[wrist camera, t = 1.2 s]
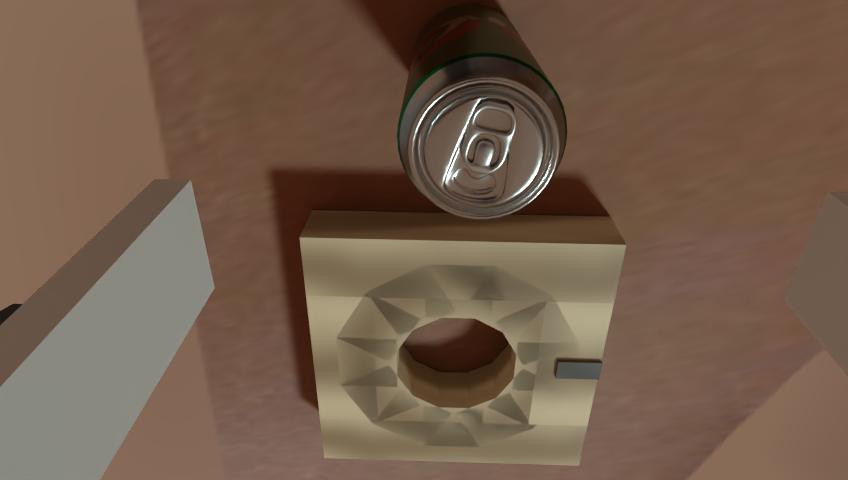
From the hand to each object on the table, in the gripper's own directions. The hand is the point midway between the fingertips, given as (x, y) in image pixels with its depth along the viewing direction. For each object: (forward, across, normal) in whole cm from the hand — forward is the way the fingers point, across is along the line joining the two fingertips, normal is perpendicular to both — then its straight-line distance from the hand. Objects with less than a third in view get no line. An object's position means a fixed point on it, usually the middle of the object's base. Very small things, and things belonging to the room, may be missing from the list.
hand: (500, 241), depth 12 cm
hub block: (+16, 0, -16) cm, 23 cm away
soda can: (+17, 0, 0) cm, 17 cm away
